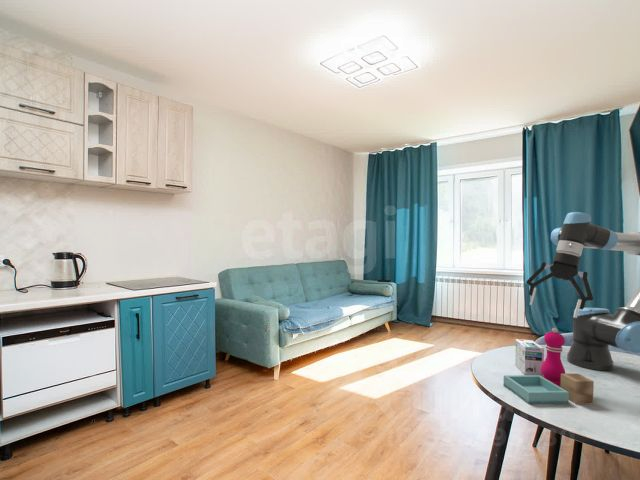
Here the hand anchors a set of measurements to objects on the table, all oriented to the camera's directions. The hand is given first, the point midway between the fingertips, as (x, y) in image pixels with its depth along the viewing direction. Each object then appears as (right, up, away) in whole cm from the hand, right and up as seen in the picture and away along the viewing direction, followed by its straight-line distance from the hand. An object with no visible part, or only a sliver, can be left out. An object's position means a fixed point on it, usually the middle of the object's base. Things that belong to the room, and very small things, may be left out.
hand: (552, 311), depth 124 cm
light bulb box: (-3, -25, +9) cm, 27 cm away
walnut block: (-1, -25, -14) cm, 29 cm away
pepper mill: (-2, -25, -3) cm, 25 cm away
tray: (-13, -25, -11) cm, 30 cm away
